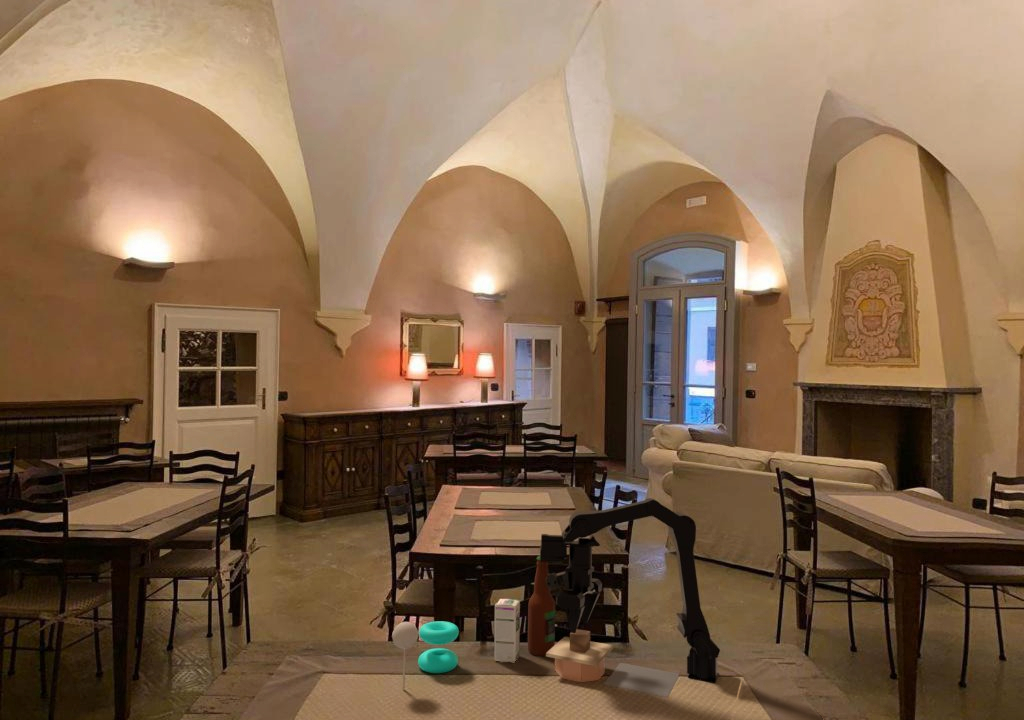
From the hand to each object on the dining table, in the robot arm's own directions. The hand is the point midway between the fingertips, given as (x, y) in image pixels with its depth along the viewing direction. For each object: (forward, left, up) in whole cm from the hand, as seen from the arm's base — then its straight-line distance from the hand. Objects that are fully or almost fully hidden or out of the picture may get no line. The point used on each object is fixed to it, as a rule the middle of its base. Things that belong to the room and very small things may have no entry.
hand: (579, 627), depth 157 cm
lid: (0, 0, -6) cm, 6 cm away
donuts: (+33, +13, -11) cm, 37 cm away
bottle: (+14, -9, -11) cm, 20 cm away
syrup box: (+20, 0, -11) cm, 23 cm away
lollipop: (+33, +28, -11) cm, 45 cm away
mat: (-15, -3, -11) cm, 19 cm away
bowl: (0, 0, -11) cm, 11 cm away
